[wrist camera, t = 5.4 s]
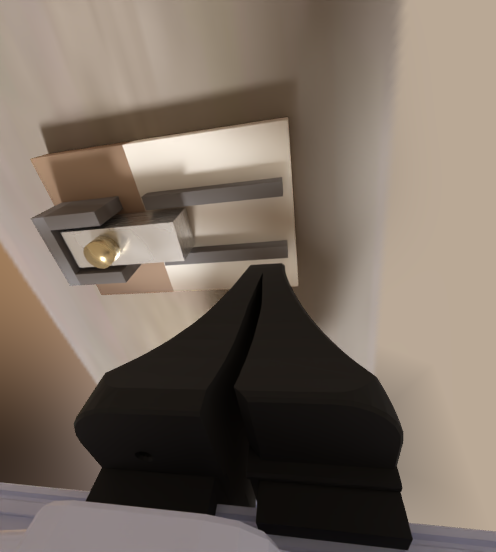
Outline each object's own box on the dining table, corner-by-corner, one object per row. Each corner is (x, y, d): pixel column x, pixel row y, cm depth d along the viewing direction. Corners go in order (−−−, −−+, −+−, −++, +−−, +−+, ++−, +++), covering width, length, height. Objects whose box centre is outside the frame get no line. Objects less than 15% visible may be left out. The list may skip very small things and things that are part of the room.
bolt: (195, 243, 18) (179, 270, 16) (98, 250, 20) (69, 276, 17) (185, 207, 17) (165, 230, 14) (82, 218, 18) (48, 240, 16)
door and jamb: (298, 274, 21) (299, 311, 17) (111, 283, 23) (81, 317, 20) (288, 116, 15) (286, 126, 12) (48, 153, 18) (-9, 170, 15)
